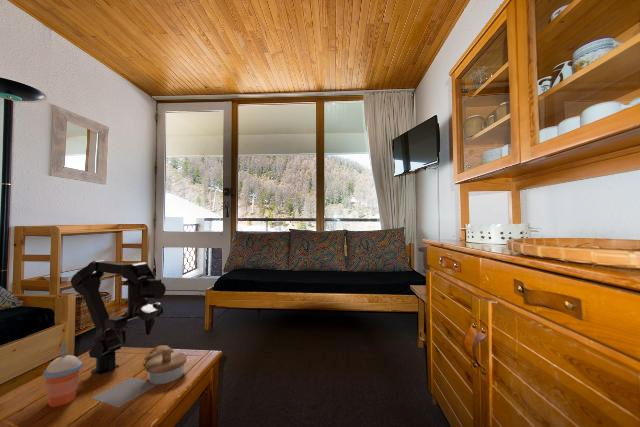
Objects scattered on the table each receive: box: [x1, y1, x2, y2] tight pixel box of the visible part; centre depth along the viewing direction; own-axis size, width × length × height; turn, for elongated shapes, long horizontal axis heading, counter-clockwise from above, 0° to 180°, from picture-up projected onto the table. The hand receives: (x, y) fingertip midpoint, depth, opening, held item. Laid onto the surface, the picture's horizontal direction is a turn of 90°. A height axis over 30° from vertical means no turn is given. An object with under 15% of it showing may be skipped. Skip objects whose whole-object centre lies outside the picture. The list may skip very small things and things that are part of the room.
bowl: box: [147, 364, 185, 385], centre depth 103 cm, size 11×11×4 cm
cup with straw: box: [42, 341, 83, 408], centre depth 89 cm, size 9×9×18 cm
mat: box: [91, 376, 158, 409], centre depth 93 cm, size 13×13×1 cm
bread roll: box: [143, 344, 175, 364], centre depth 114 cm, size 10×10×8 cm
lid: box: [145, 347, 187, 373], centre depth 103 cm, size 13×13×5 cm
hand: (136, 339), depth 105 cm, fingers open, 9 cm apart
